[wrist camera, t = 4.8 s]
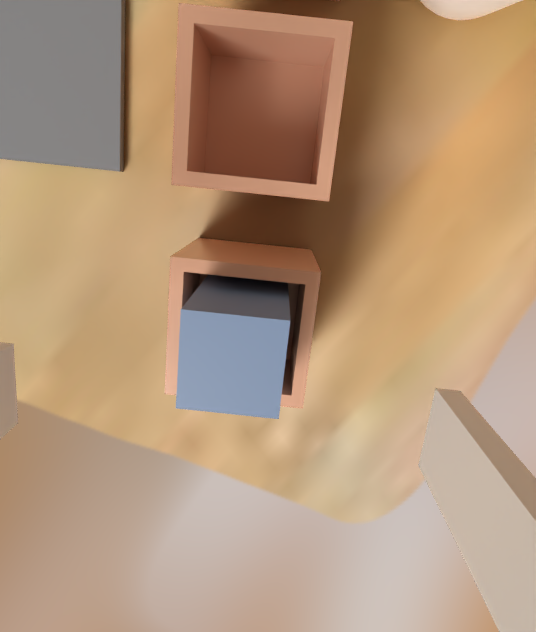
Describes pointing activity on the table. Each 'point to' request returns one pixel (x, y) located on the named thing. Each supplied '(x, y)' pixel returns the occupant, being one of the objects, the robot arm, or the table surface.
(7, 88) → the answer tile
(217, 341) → the blue rectangular block
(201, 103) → the pot
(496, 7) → the cup
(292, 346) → the pot
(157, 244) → the table surface
